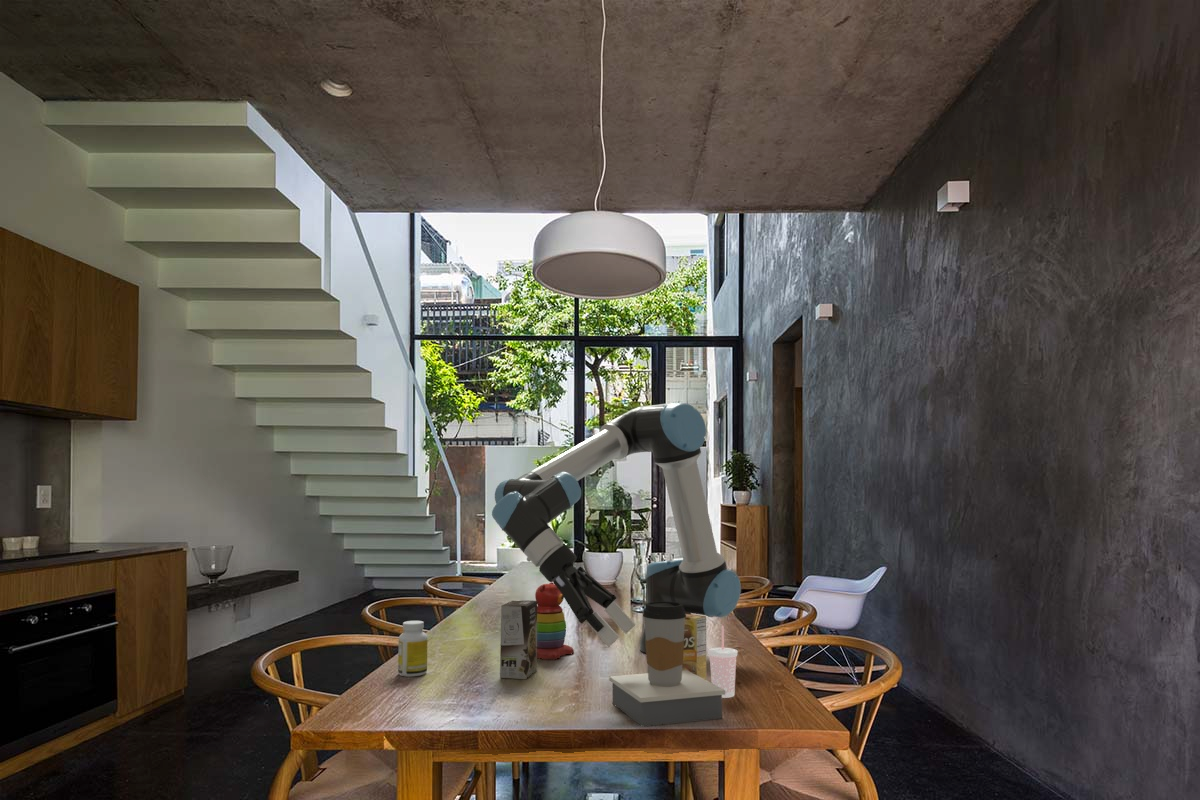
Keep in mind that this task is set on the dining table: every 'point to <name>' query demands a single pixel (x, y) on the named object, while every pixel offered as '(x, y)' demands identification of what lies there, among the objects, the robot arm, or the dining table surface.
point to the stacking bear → (550, 623)
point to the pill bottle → (412, 650)
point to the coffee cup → (664, 642)
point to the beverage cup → (723, 668)
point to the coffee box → (518, 639)
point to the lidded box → (667, 699)
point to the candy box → (695, 645)
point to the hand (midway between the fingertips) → (622, 635)
